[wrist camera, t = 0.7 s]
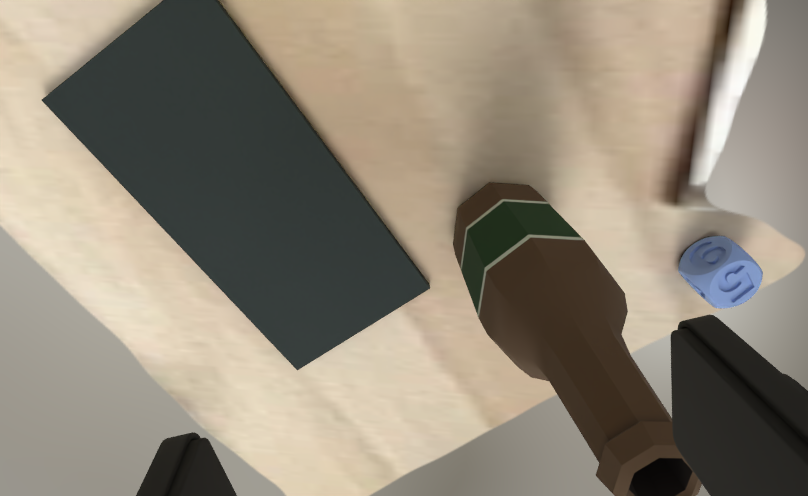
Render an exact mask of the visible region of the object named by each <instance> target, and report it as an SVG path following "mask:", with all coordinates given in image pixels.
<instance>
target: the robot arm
mask: <svg viewBox="0 0 808 496" xmlns="http://www.w3.org/2000/svg"><path fill="white" fill-rule="evenodd" d="M671 375H672V376H671V378H672V430H673V438H674V441H675V444H676V446H677V448H678V450H679V452H680V454H681V455H682V456H683V458H684V459H685V461H686V462H687V463H688V465H689V466H690V468H691V469H692V470H693V472H694V473H695V475H696V476H697V477H698V479H699V480H700V482H701V483H702V484H703V486H704V487H705V488H706V490H707V491H708V493H709V494H710V495H711V496H808V391H807V390H806V389H805V388H804V387H802V386H801V385H800V384H799V383H798V382H797V381H795V380H794V379H792V378H791V377H789V376H788V375H786V374H782V373H781V372H780V371H778V370H777V369H776V368H775V367H774V366H773V365H772V364H770V363H769V362H768V361H767V360H766V359H765V358H763V357H762V356H761V355H760V354H759V353H758V352H756V351H755V350H754V349H753V348H752V347H751V346H749V345H748V344H747V343H746V342H745V341H744V340H743V339H741V338H740V337H739V336H738V335H737V334H736V333H734V332H733V331H732V330H731V329H729V327H727V326H726V325H725V324H724V323H723V322H721V321H720V320H719V319H718V318H717V317H715V316H714V315H706V316H702V317H698V318H693V319H689V320H685V321H682V322H680V323H679V325H678V330H675V331H673V332H672V333H671ZM136 496H237V495H236V493H235V491H234V489H233V487H232V485H231V483H230V481H229V479H228V477H227V475H226V473H225V471H224V469H223V467H222V465H221V464H220V462H219V459H218V458H217V456H216V454H215V452H214V450H213V448H212V446H211V444H210V442H209V440H208V439H206V438H200V436H199V435H198V434H196V433H189V434H184V435H180V436H176V437H171V438H167V439H165V440H164V441H163V442H162V443H161V445H160V447H159V449H158V451H157V453H156V455H155V458H154V459H153V462H152V464H151V466H150V468H149V470H148V472H147V474H146V476H145V478H144V480H143V483H142V484H141V487H140V489H139V491H138V493H137V495H136Z"/></svg>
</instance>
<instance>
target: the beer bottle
mask: <svg viewBox="0 0 808 496" xmlns="http://www.w3.org/2000/svg"><path fill="white" fill-rule="evenodd" d="M453 246H454V251H455V255H456V258H457V260H458V263H459V266H460V268H461V271H462V274H463V277H464V279H465V282H466V285H467V287H468V290H469V293H470V296H471V298H472V301H473V304H474V306H475V309H476V312H477V315H478V317H479V319H480V321H481V323H482V325H483V327H484V329H485V331H486V332H487V334H488V336H489V337H490V338H491V339H492V340H493V341H494V342H495V343H496V344H497V345H498V346H499V347H500V348H501V349H502V350H503V352H504V353H505V354H506V355H507V356H508V357H509V358H510V359H511V360H512V361H513V362H514V363H515V364H516V365H517V366H518V367H519V368H520V369H521V370H523V371H524V372H525V373H526V374H528V375H529V376H530V377H532V378H537V379H542V380H547V381H550V383H551V385H552V386H553V388H554V389H555V391H556V393H557V394H558V396H559V398H560V399H561V401H562V403H563V404H564V406H565V407H566V409H567V411H568V412H569V414H570V416H571V417H572V419H573V421H574V422H575V424H576V425H577V427H578V429H579V430H580V432H581V434H582V435H583V437H584V439H585V440H586V441H587V443H588V445H589V447H590V448H591V450H592V451H593V453H594V455H595V456H596V458H597V460H598V461H599V466H598V470H597V473H596V476H597V477H598V478H599V479H600V481H601V482H602V483H603V484H604V485H605V486H606V487H607V488H608V489H609V490H610V491H611V492H612V493H613V494H614V495H615V496H696V495H697V494H698V492H699V490H700V487H701V484H702V483H701V482H700V480H699V479H698V477H697V476H696V475H695V473H694V472H693V470H692V469H691V468H690V466H689V465H688V463H687V462H686V461H685V459H684V458H683V456H682V455H681V454H680V452H679V450H678V448H677V446H676V444H675V441H674V438H673V430H672V418H671V417H670V415H669V413H668V412H667V410H666V409H665V407H664V406H663V404H662V403H661V401H660V400H659V398H658V397H657V395H656V394H655V392H654V391H653V389H652V387H651V386H650V385H649V383H648V382H647V380H646V378H645V377H644V375H643V374H642V372H641V371H640V369H639V368H638V366H637V365H636V363H635V361H634V360H633V359H632V357H631V355H630V353H629V351H628V349H627V346H626V344H625V342H624V339H623V337H622V335H621V334H622V330H623V326H624V323H625V319H626V316H627V312H628V311H627V305H626V299H625V293H624V292H623V291H622V289H621V288H620V286H619V285H618V284H617V282H616V281H615V280H614V278H613V277H612V276H611V274H610V273H609V272H608V270H607V269H606V268H605V267H604V265H603V264H602V263H601V261H600V260H599V259H598V257H597V256H596V255H595V253H594V252H593V251H592V250H591V248H590V247H589V246H588V244H587V243H586V242H585V240H584V239H583V238H582V237H581V236H580V235H579V234H578V233H577V232H576V231H575V230H574V229H573V228H572V227H571V226H570V225H569V224H568V223H567V222H566V221H565V220H564V219H563V218H562V217H561V216H560V215H559V214H558V213H557V212H556V211H555V210H554V209H553V208H552V206H551V205H550V204H549V203H548V202H547V201H546V200H545V199H544V198H543V197H542V196H541V195H540V194H539V193H538V192H537V191H536V190H534V189H533V188H532V187H530V186H529V185H518V184H503V183H488V184H487V185H486V186H485V187H483V188H482V189H481V190H480V191H478V192H477V193H476V194H475V195H473V196H472V197H471V198H470V199H468V200H467V201H466V202H465V203H463V204H462V205H461V206H460V207H458V211H457V218H456V226H455V234H454V241H453Z"/></svg>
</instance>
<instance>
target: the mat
mask: <svg viewBox="0 0 808 496" xmlns="http://www.w3.org/2000/svg"><path fill="white" fill-rule="evenodd" d="M42 101H43V102H44V103H45V104H46V105H47V106H48V107H49V109H50V110H51V111H52V112H53V113H54V114H55V115H56V116H57V117H58V118H59V119H60V120H61V121H62V122H63V123H64V124H65V125H66V126H67V128H68V129H69V130H70V131H71V132H72V133H73V134H74V135H75V136H76V137H77V138H78V139H79V140H80V141H81V142H82V143H83V144H84V146H85V147H86V148H87V149H88V150H89V151H90V152H91V153H92V154H93V155H94V156H95V157H96V158H97V159H98V160H99V161H100V162H101V163H102V165H103V166H104V167H105V168H106V169H107V170H108V171H109V172H110V173H111V174H112V175H113V176H114V177H115V178H116V179H117V180H118V181H119V182H120V184H121V185H122V186H123V187H124V188H125V189H126V190H127V191H128V192H129V193H130V194H131V195H132V196H133V197H134V198H135V199H136V200H137V201H138V203H139V204H140V205H141V206H142V207H143V208H144V209H145V210H146V211H147V212H148V213H149V214H150V215H151V216H152V217H153V218H154V219H155V220H156V222H157V223H158V224H159V225H160V226H161V227H162V228H163V229H164V230H165V231H166V232H167V233H168V234H169V235H170V236H171V237H172V238H173V239H174V241H175V242H176V243H177V244H178V245H179V246H180V247H181V248H182V249H183V250H184V251H185V252H186V253H187V254H188V255H189V256H190V257H191V258H192V260H193V261H194V262H195V263H196V264H197V265H198V266H199V267H200V268H201V269H202V270H203V271H204V272H205V273H206V274H207V275H208V276H209V278H210V279H211V280H212V281H213V282H214V283H215V284H216V285H217V286H218V287H219V288H220V289H221V290H222V291H223V292H224V293H225V294H226V295H227V297H228V298H229V299H230V300H231V301H232V302H233V303H234V304H235V305H236V306H237V307H238V308H239V309H240V310H241V311H242V312H243V313H244V314H245V316H246V317H247V318H248V319H249V320H250V321H251V322H252V323H253V324H254V325H255V326H256V327H257V328H258V329H259V330H260V331H261V332H262V333H263V335H264V336H265V337H266V338H267V339H268V340H269V341H270V342H271V343H272V344H273V345H274V346H275V347H276V348H277V349H278V350H279V351H280V352H281V354H282V355H283V356H284V357H285V358H286V359H287V360H288V361H289V362H290V363H291V364H292V365H293V366H294V367H295V368H296V369H297V370H298V369H300V368H302V367H303V366H305V365H307V364H308V363H310V362H311V361H313V360H315V359H316V358H318V357H320V356H321V355H323V354H324V353H326V352H328V351H329V350H331V349H332V348H334V347H336V346H337V345H339V344H341V343H342V342H344V341H345V340H347V339H349V338H350V337H352V336H354V335H355V334H357V333H358V332H360V331H362V330H363V329H365V328H367V327H368V326H370V325H371V324H373V323H375V322H376V321H378V320H379V319H381V318H383V317H384V316H386V315H388V314H389V313H391V312H392V311H394V310H396V309H397V308H399V307H401V306H402V305H404V304H405V303H407V302H409V301H410V300H412V299H414V298H415V297H417V296H418V295H420V294H422V293H423V292H425V291H426V290H428V289H430V285H429V283H428V282H427V281H426V279H425V278H424V277H423V275H422V274H421V273H420V271H419V270H418V269H417V267H416V266H415V264H414V263H413V262H412V260H411V259H410V258H409V256H408V255H407V254H406V252H405V251H404V250H403V248H402V247H401V246H400V244H399V243H398V242H397V240H396V239H395V238H394V236H393V235H392V234H391V232H390V231H389V230H388V228H387V227H386V225H385V224H384V223H383V221H382V220H381V219H380V217H379V216H378V215H377V213H376V212H375V211H374V209H373V208H372V207H371V205H370V204H369V203H368V201H367V200H366V199H365V197H364V196H363V195H362V193H361V192H360V191H359V189H358V188H357V186H356V185H355V184H354V182H353V181H352V180H351V178H350V177H349V176H348V174H347V173H346V172H345V170H344V169H343V168H342V166H341V165H340V164H339V162H338V161H337V160H336V158H335V157H334V156H333V154H332V153H331V152H330V150H329V149H328V148H327V146H326V145H325V143H324V142H323V141H322V139H321V138H320V137H319V135H318V134H317V133H316V131H315V130H314V129H313V127H312V126H311V125H310V123H309V122H308V121H307V119H306V118H305V117H304V115H303V114H302V113H301V111H300V110H299V109H298V107H297V106H296V104H295V103H294V102H293V100H292V99H291V98H290V96H289V95H288V94H287V92H286V91H285V90H284V88H283V87H282V86H281V84H280V83H279V82H278V80H277V79H276V78H275V76H274V75H273V74H272V72H271V71H270V70H269V68H268V67H267V65H266V64H265V63H264V61H263V60H262V59H261V57H260V56H259V55H258V53H257V52H256V51H255V49H254V48H253V47H252V45H251V44H250V43H249V41H248V40H247V39H246V37H245V36H244V35H243V33H242V32H241V31H240V29H239V28H238V27H237V25H236V24H235V22H234V21H233V20H232V18H231V17H230V16H229V14H228V13H227V12H226V10H225V9H224V8H223V6H222V5H221V4H220V2H219V1H218V0H163V1H162V2H161V3H160V4H158V5H157V6H156V7H155V8H153V9H152V10H151V11H150V12H149V13H147V14H146V15H145V16H144V17H142V18H141V19H140V20H139V21H138V22H136V23H135V24H134V25H133V26H131V27H130V28H129V29H128V30H127V31H125V32H124V33H123V34H122V35H120V36H119V37H118V38H117V39H116V40H114V41H113V42H112V43H111V44H109V45H108V46H107V47H106V48H105V49H103V50H102V51H101V52H100V53H98V54H97V55H96V56H95V57H94V58H92V59H91V60H90V61H89V62H87V63H86V64H85V65H84V66H83V67H81V68H80V69H79V70H78V71H76V72H75V73H74V74H73V75H72V76H70V77H69V78H68V79H67V80H65V81H64V82H63V83H62V84H61V85H59V86H58V87H57V88H56V89H54V90H53V91H52V92H51V93H50V94H48V95H47V96H46V97H45V98H43V99H42Z"/></svg>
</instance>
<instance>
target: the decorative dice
mask: <svg viewBox="0 0 808 496" xmlns="http://www.w3.org/2000/svg"><path fill="white" fill-rule="evenodd" d="M678 271H679V273H680V274H681V276H682V277H683V278H684V279H685V280H686V281H687V282H688V283H689V285H690V286H691V287H692V288H693V289H694V290H695V291H696V292H697V293H698V294H699V295H700V296H702V297H703V298H704V299H705V300H706V301H707V302H708V303H709V304H711V305H712V306H713V307H715V308H730V307H734V306H737V305H740V304H742V303H744V302H746V301H747V300H749V299H750V298H751V297H752V296H753V295H754V294H755V293H756V292H757V290H758V288H759V286H760V284H761V281H762V274H763V272H762V270H761V268H760V267H759V265H758V264H757V263H756V262H755V261H754V260H753V258H752V257H751V256H750V255H749V254H748V253H746V252H745V251H744V250H743V249H742V248H741V247H740V246H738V245H737V244H736V243H735V242H733V241H732V240H730V239H729V238H727V237H725V236H712V237H707V238H704V239H702V240H699V241H697V242H696V243H694V244H693V245H691V246H690V247H689V248H688V249H687V250H686V251H685V253H684V254H683V256H682V258H681V260H680V263H679V268H678Z"/></svg>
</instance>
